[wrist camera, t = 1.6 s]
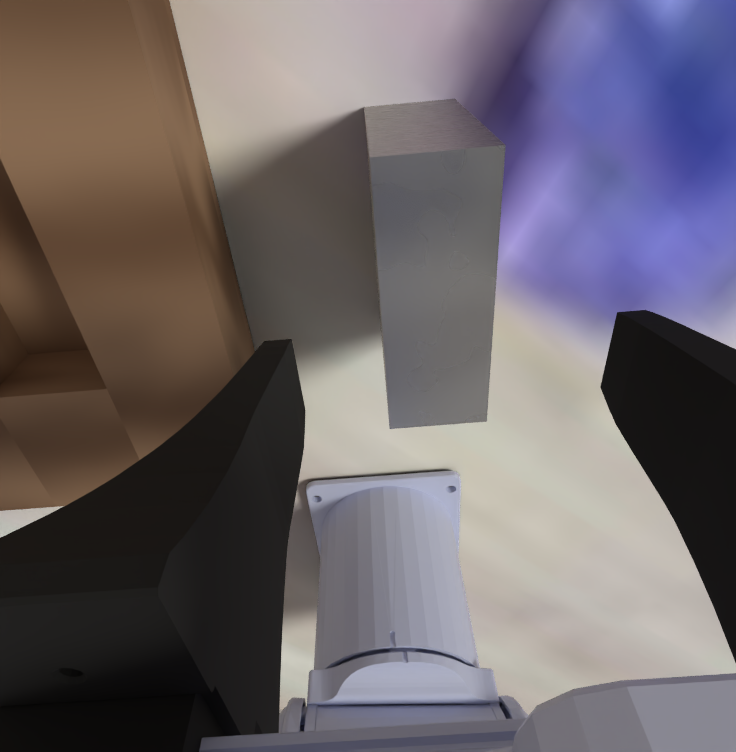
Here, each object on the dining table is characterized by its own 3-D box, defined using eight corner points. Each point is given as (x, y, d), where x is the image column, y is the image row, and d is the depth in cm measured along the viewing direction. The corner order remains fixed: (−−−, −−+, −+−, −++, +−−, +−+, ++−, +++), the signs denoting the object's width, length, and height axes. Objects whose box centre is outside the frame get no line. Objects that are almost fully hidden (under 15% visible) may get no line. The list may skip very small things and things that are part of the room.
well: (275, 436, 25) (266, 491, 23) (-6, 458, 26) (-50, 514, 23) (111, -237, 13) (41, -306, 10) (-438, -175, 13) (-658, -224, 10)
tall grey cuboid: (451, 312, 22) (486, 421, 16) (379, 318, 22) (389, 428, 16) (454, 98, 17) (504, 145, 12) (363, 107, 17) (369, 157, 12)
